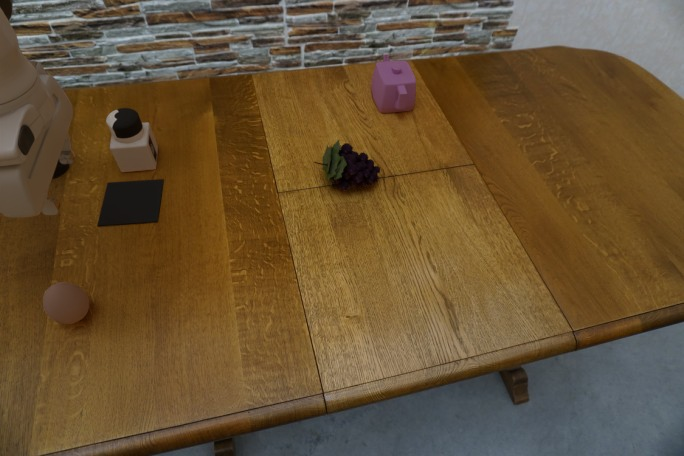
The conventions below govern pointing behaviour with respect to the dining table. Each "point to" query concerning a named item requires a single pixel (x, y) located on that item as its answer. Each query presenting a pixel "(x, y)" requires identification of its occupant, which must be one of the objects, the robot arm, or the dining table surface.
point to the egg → (65, 303)
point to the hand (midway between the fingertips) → (61, 184)
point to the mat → (131, 202)
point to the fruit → (348, 167)
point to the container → (131, 141)
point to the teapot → (393, 86)
